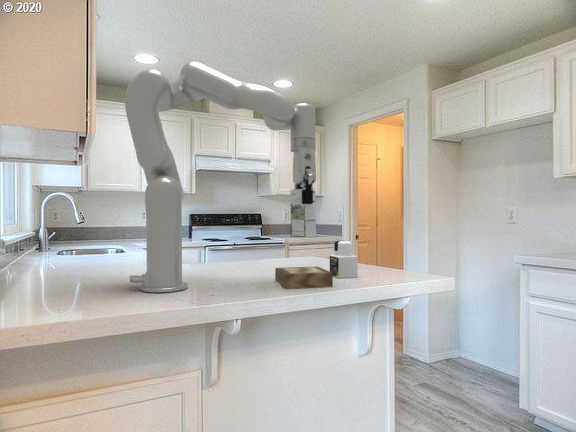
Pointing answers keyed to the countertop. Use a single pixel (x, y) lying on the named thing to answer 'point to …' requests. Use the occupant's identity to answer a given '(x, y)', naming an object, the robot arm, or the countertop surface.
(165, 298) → the countertop surface
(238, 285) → the countertop surface
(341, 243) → the medicine bottle
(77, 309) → the countertop surface
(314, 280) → the stand
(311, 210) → the syrup box
